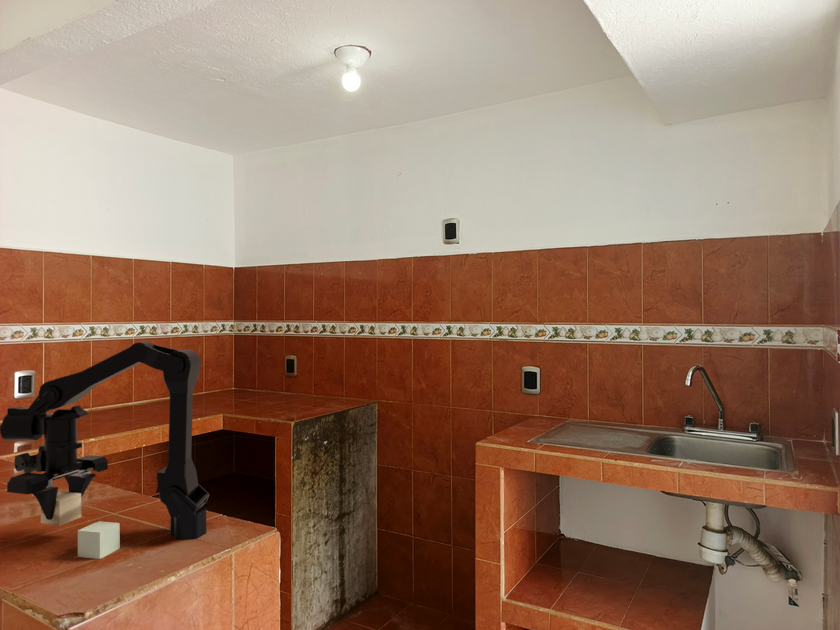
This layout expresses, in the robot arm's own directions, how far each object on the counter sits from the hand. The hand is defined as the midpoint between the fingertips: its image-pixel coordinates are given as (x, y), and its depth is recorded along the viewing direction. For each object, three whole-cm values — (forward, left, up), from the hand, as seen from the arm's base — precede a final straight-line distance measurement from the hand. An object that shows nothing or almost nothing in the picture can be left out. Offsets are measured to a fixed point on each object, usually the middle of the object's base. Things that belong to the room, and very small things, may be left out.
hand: (61, 514), depth 116 cm
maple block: (0, 0, -1) cm, 1 cm away
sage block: (-13, +3, -5) cm, 15 cm away
